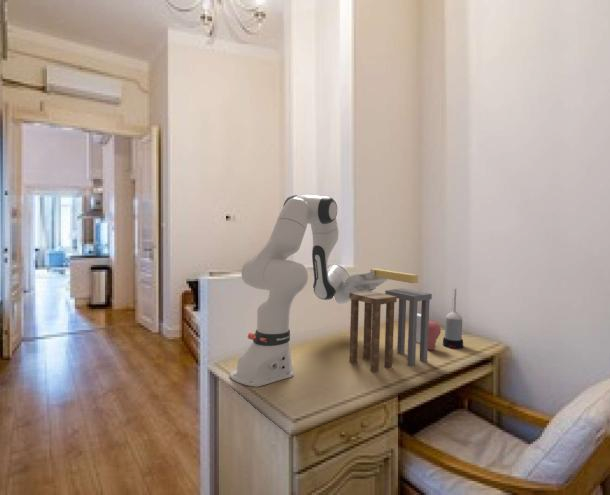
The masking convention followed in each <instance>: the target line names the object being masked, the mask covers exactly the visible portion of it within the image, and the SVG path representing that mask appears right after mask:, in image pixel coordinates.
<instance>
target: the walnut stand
mask: <svg viewBox="0 0 610 495" xmlns="http://www.w3.org/2000/svg"><path fill="white" fill-rule="evenodd" d="M349 298H350V299H351V301H350V326H349V327H350V330H349V331H350V332H349V362H350V363H351V364H355V363H357V362H358V343H359V341H358V339H359V311H360V310H359V307H360V305H359V304H360V303H359V302H362V303H364V314H363V315H364V316H363V317H364V318H363V349H362V350H363V352H362V359H364V360H370V372H372V373H374V374H375V373H378V372H379V370H380V369H379V368H380V367H379V366H380V339H381V337H380V336H381V305H385V307H386V308H385V331H384V332H385V333H384V336H385V337H384V361H383V362H384V364H383V366H384V368H386V369H391V368H392V369H393V358H394V355H393V354H394V351H393V350H394V330H395V329H394V327H395V326H394V325H395V303H397V299H398V298H397V297H396V296H392V295H387V294H385V293H381V292H376V291H373V290H371V291H362V292H353V293H349Z"/></svg>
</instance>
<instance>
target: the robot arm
mask: <svg viewBox="0 0 610 495" xmlns="http://www.w3.org/2000/svg"><path fill="white" fill-rule="evenodd" d="M337 215H338V205H337V202H336V201H335V200H334V198H332V197H330V196H326V195H324V196H320V195H311V194H304V195H297V194H295V195H291V196H288V197H287V198H286V199H285V200H284V203H283V206H282V209H281V211H280V212H279V215H278V217H277V219H276V223H275V224H274V227H273V230H272V231H271V234H270V236H269V238H268V240H267V242H266V243H265V245H264V246H263V248H261V249H260V251H259V252H258V253H256V255H254V256H253V257H251V258H250V259H248V260H246V261H245V263H244V264H243V266H242V268H241V278H242V281H243V282H244V284H246V285H248V286H250V287H253V289H254V288H255V289H259V290H266V291H268V292H269V294H268V298H267V300H266V301H264V302H263V303H261V304H260V305H259V306H258V307H257V312H256V313H257V314H256V316H257V318H256V330H255V332H254V333H252V332H248V334H247V335H246V336H247V339H249V340H252V341H253V342H252V343H250V345H249V346H248V347H247V349H245V350H244V352H243V353H242V354H241V355H239V358H238V360H237V364H236V369H235V370H233V371H230V372H229V378H231V380H233V381H234V382H237V383H238V384H241V385H245V386H249V387H254V388H255V387H256V388H257V387H261V386H265V385H268V384H271V383H275V382H278V381H282V380H287V379H289V378H292V377H294V375H295V374H294V368H293V364H292V356H291V355H292V354H291V347H290V341H291V330H290V314H291V312H290V311H291V306H292V303H293V301H294V299H295V297H296V296H297V295H298V294H299V293H300V292H302V291H303V290H304V289H305V287H306V286H307V284H308V279H309V274H308V271H307V268H306V266H304V264H302V263H299V262H296V261H293V260H289V259H288V258H289V257H290V256H293V255H294V254H296V253H298V251H299V250H300V248H301V245H302V242H303V239H304V236H305V233H306V231H307V227H308V224H309V225H310V227H311V235H312V250H311V251H312V252H311V255H312V256H311V257H312V258H311V259H312V269H313V277H314V278H313V279H314V280H313V285H312V288H314V289H313V293H314V294H315V296H316V297H317V298H318V299H320V300H324V301H328V300H333V299H332V298H333V296H334V297H335V300H336V302H337V303H336V302H335V303H336V304H341V305H343V304H347V303H349V302H351V299H350V298H349V293H353V292H362V291H373V290H376V289H377V287H379V286H381V285H382V284H384V283H385V282H387V281H388V279H384V278H379V277H373V276H375V275H376V271H371V272H366V273H364V272H363V273H355V274H351V275H349V273H348V271H346V269H345V267H342V266H340V265H338V264H331V265H330V266H328V263H329V262H328V261H329V258H330V255H331V253H332V252H333V249H334V248H335V246H336V244H337V243H338V240H339V227H338V222H337Z"/></svg>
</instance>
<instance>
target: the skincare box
mask: <svg viewBox="0 0 610 495" xmlns="http://www.w3.org/2000/svg"><path fill="white" fill-rule="evenodd" d="M420 334H421V313H418V312H417V329H416V343H418V344H420Z"/></svg>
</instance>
